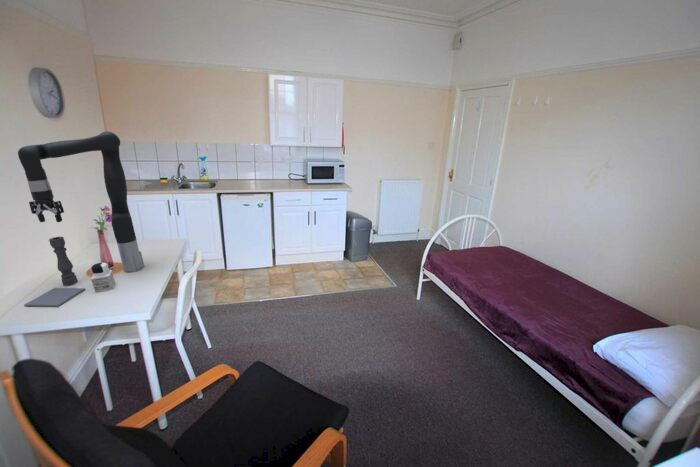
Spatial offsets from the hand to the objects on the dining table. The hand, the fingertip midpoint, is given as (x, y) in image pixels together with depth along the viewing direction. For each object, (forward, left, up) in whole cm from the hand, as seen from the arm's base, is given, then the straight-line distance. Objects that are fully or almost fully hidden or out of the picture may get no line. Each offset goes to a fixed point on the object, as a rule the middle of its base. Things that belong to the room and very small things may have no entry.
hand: (51, 221), depth 164 cm
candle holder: (0, 0, -34) cm, 34 cm away
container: (-22, +4, -34) cm, 41 cm away
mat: (-6, +15, -34) cm, 37 cm away
